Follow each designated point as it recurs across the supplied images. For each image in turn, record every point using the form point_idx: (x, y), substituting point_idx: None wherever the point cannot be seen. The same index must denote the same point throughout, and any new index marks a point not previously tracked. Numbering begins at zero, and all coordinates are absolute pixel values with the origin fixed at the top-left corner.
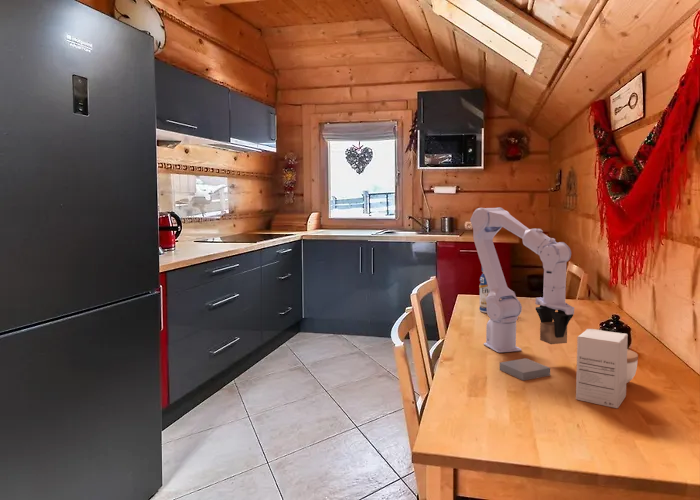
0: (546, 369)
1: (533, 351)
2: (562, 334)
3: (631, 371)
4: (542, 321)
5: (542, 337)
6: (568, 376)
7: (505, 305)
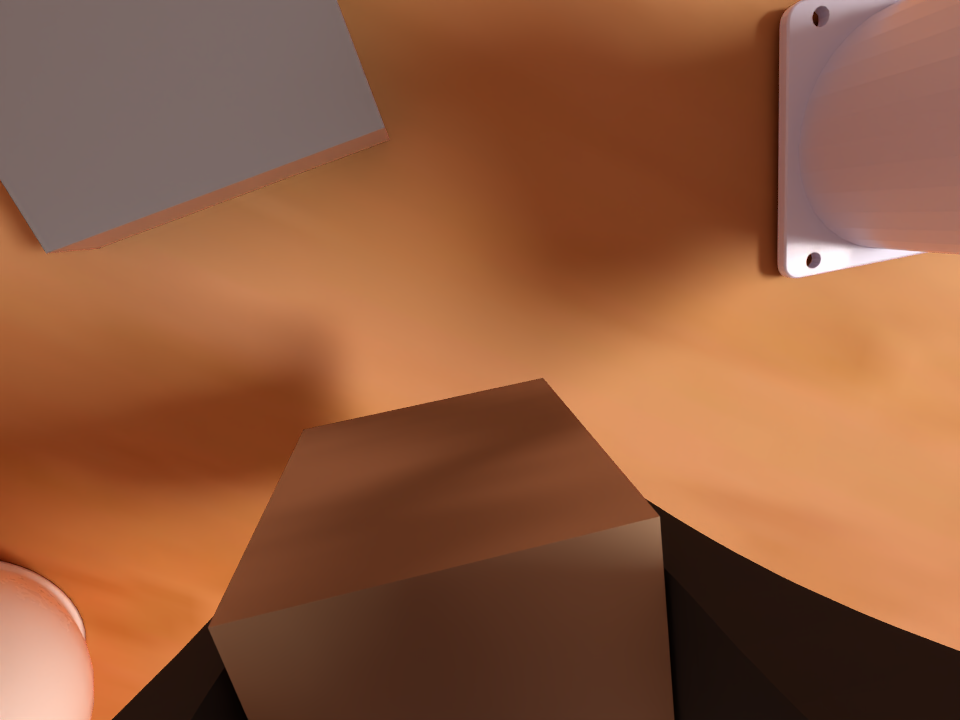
0: (23, 202)
1: (746, 370)
2: None
3: None
4: (683, 585)
5: (498, 406)
6: (87, 390)
7: None
